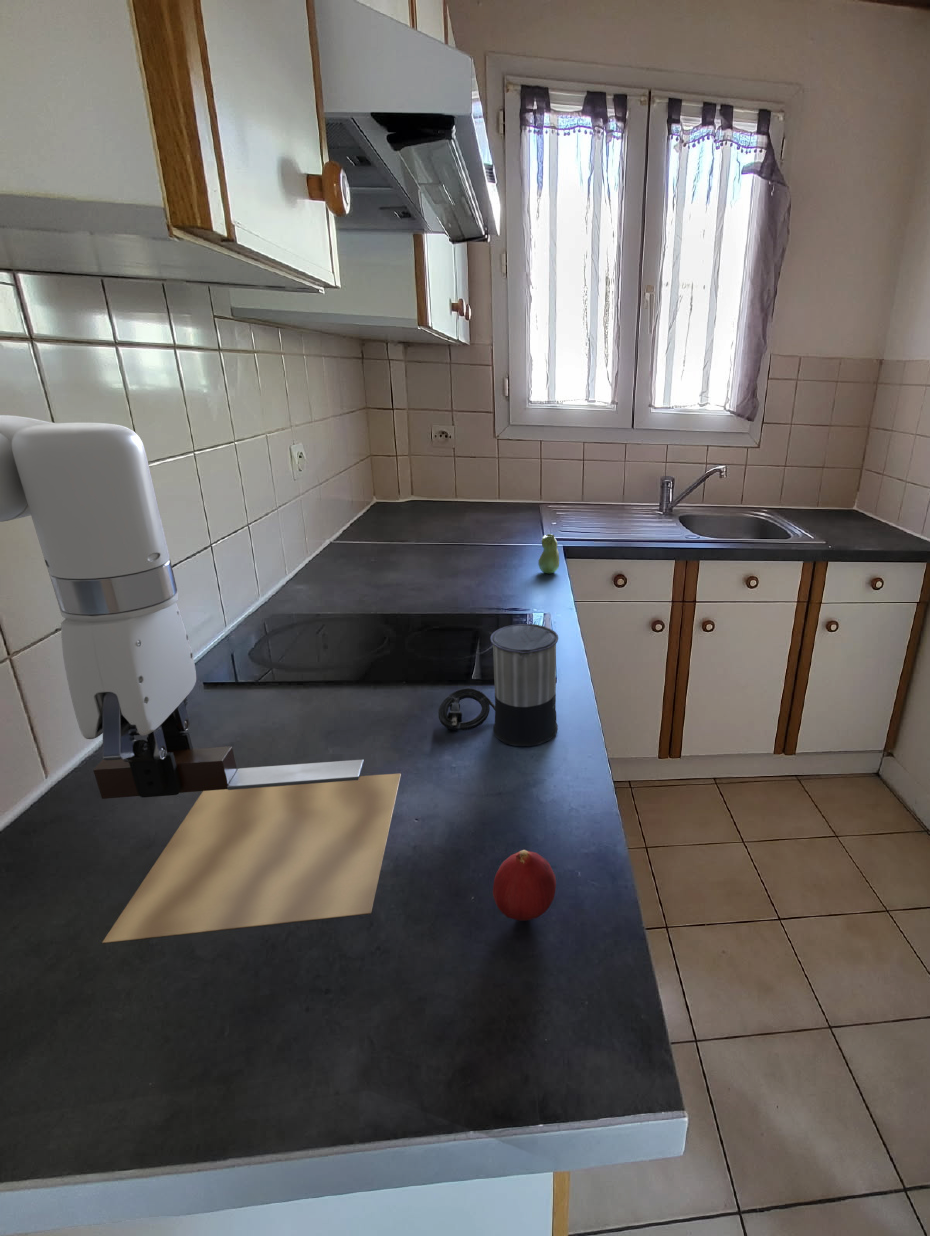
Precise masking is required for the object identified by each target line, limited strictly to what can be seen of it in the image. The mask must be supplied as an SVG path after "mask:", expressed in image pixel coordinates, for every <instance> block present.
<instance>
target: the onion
mask: <svg viewBox="0 0 930 1236" xmlns="http://www.w3.org/2000/svg"><path fill="white" fill-rule="evenodd" d="M492 885H493V886H492V896H493V900H494V903H495V905H496V907H497V909H498V910H499V911H500V912H501V914H503V915H504V916H505V917H507V918H509V919H512V920H515V921H530V920H534V919H537V918H540V916H542V915H543V914H545V913H546V912H547V911H548V909H549V908H550V906H551V905H552V903H553V901H554V900H555V895H556V888H557V879H556V875H555V872H554V870H553V868H552V866H551V863H550V862H549V861H548V860H547V859H546V858H545V857H543V856H542V855H540V854H539V853H538V852H535V851H531V850H526V849H521V850H519V851H517V852H515V853H513V854H511V855H510V856H508V857H507V858H505V860H503V862H502V863H501V864H500V866H499V868H498V870H497V871H496V873H495V876H494V879H493V884H492Z"/></svg>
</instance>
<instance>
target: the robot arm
mask: <svg viewBox="0 0 930 1236" xmlns="http://www.w3.org/2000/svg"><path fill="white" fill-rule="evenodd" d="M147 455H148V454H147V452H146V449H145V445H144V443H143V440H142V439H141V437H140V436H139V435H138V434H137V433H136V432H135V431H134V430H132V429H131V428H129V427H127V426H124V425H120V424H117V423H107V422H51V421H46V420H42V419H37V418H32V417H26V416H20V415H11V414H0V523H4V522H9V521H12V520H13V521H14V520H18V519H23V518H26V517H31V519H32V523H33V526H34V529H35V533H36V536H37V539H38V543H39V546H40V550H41V553H42V555H43V558H44V563H45V566H46V569H47V572H48V575H49V579H50V582H51V586H52V589H53V591H54V595H55V599H56V602H57V605H58V609H59V612H60V615H61V617H62V618H63V621H61V622H60V627H61V629H60V631H61V648H62V657H63V664H64V671H65V675H66V680H67V685H68V690H69V695H70V699H71V703H72V707H73V711H74V715H75V718H76V722H77V726H78V729H79V731H80V733H81V735H82V737H83V738H84V739H86V740H95V739H97V738H99V737H100V736H101V735H102V758H103V759H104V760H120V759H123V760H124V761H125V762H129V764H130V768H131V771H132V775H133V778H134V782H135V785H136V789H137V792H138V795H139V796H138V797H140V798H154V797H156V798H157V797H166V796H167V797H168V796H169V797H170V796H178V795H179V794H181V793H180V791H181V790H182V786H181V782H180V778H179V774H178V770H177V766H176V762H175V758H174V754H173V752H169V753H167V751H169V750H184V749H194V747H193V743H192V739H191V735H190V732H188V731H189V730H190V725H191V724H190V723H191V722H190V717H189V714H188V711H187V705H188V703H189V702H188V699H187V697H188V695H190V693H191V692H192V690H193V689H194V687H195V685H196V683H197V672H196V665H195V659H194V655H193V650H192V647H191V643H190V640H189V635H188V633H187V630H186V626H185V623H184V620H183V617H182V614H181V611H180V608H179V606H178V603H177V602H178V600H179V599H180V596H179V592H178V588H177V582H176V578H175V574H174V570H173V565H172V561H171V556H170V552H169V547H168V544H167V539H166V534H165V530H164V526H163V522H162V521H163V520H162V517H161V513H160V509H159V504H158V500H157V495H156V491H155V487H154V482H153V477H152V474H151V469H150V464H149V459H148V456H147ZM135 736H141V737H146V740H145V739H135Z"/></svg>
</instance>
